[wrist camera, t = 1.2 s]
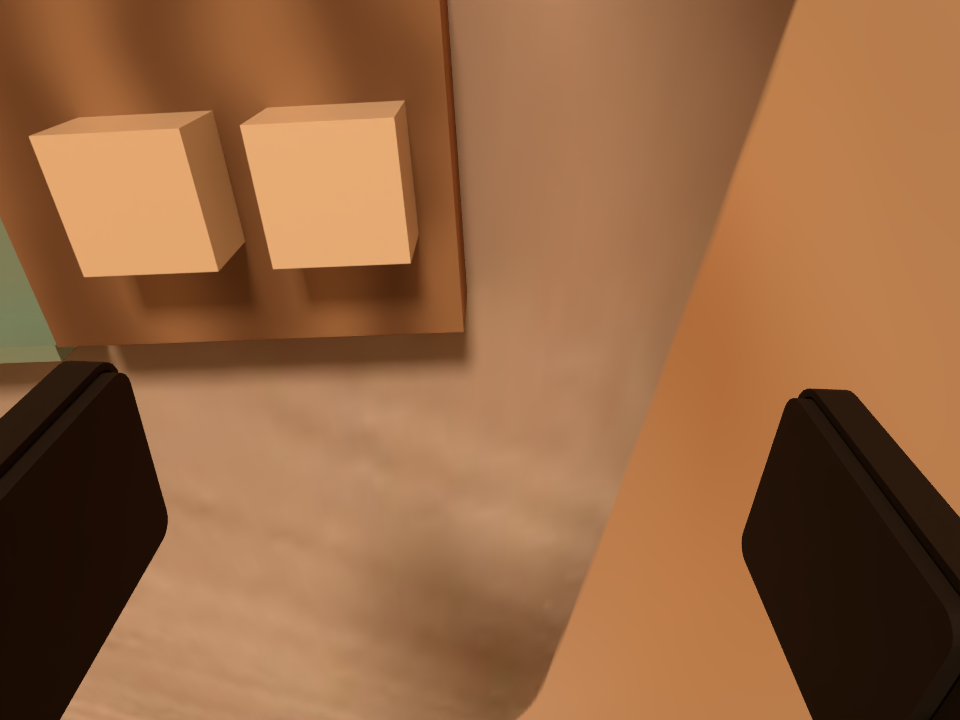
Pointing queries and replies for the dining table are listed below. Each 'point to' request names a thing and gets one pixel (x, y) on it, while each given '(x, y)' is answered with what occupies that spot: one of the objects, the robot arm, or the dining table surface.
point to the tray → (22, 314)
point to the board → (231, 157)
